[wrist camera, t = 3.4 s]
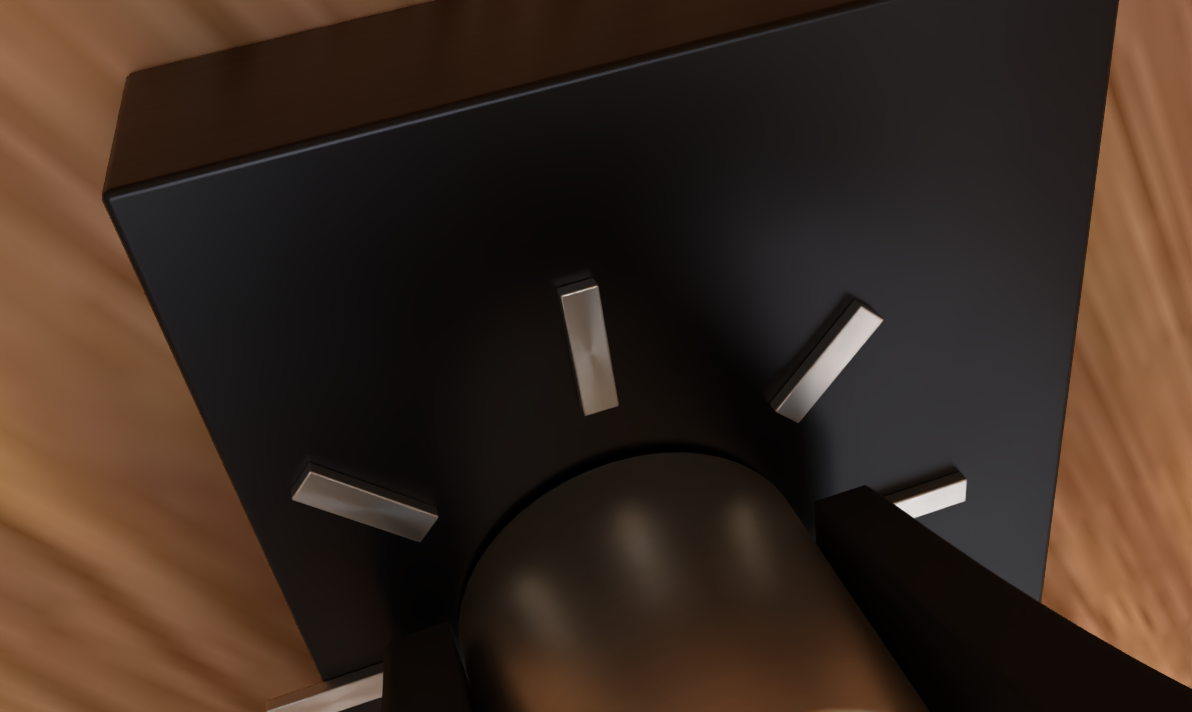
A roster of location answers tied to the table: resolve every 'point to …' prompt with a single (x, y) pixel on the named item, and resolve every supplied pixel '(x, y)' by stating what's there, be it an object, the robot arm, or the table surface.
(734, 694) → the knob
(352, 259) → the hob panel
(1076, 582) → the table surface
